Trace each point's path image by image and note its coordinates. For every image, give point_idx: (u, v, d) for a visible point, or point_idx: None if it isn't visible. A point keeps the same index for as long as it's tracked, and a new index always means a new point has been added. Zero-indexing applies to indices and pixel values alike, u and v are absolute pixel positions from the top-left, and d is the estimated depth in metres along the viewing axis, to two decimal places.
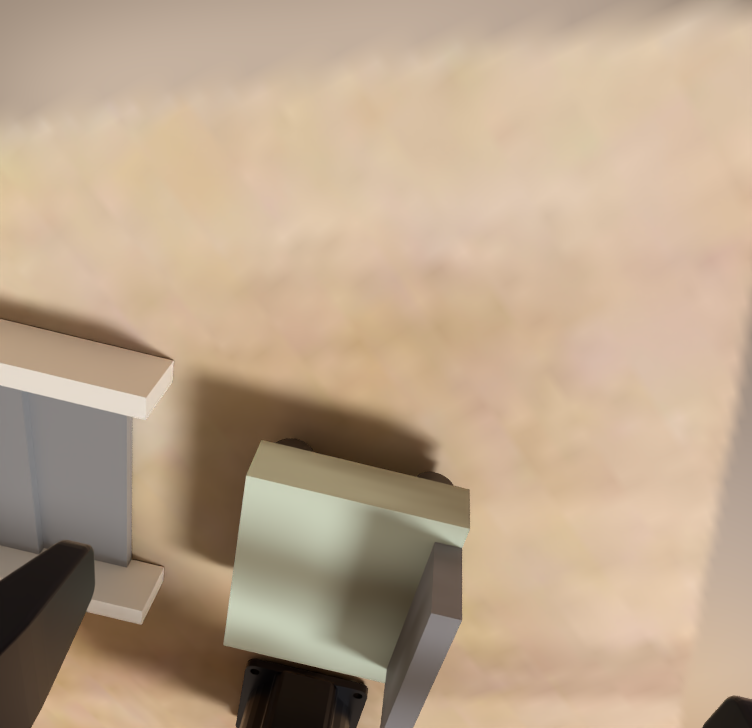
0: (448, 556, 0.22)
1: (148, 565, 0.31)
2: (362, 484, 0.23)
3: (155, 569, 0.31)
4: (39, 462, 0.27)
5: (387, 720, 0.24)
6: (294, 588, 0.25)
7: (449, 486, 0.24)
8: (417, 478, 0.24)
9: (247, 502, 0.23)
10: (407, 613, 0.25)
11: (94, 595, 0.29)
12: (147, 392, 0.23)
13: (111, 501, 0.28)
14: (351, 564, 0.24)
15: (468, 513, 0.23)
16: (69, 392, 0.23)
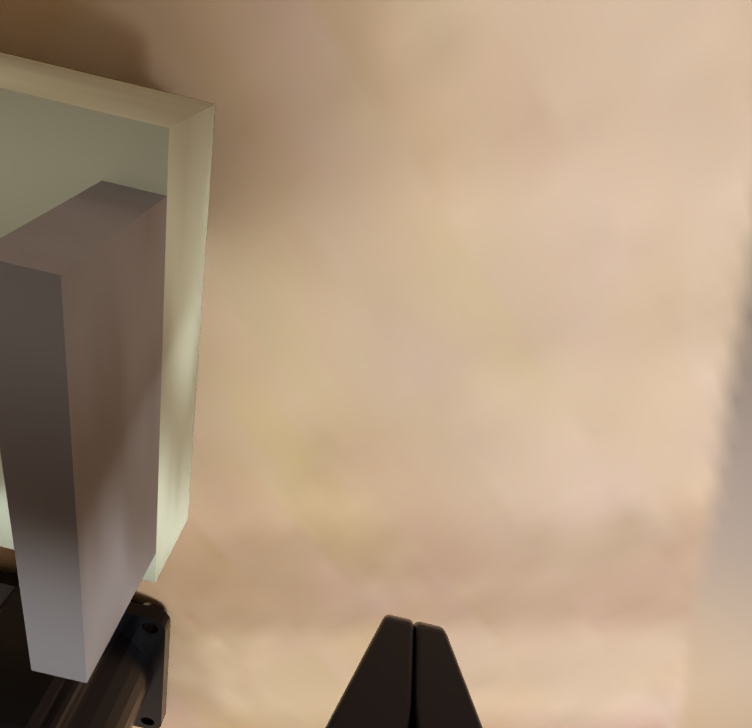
0: (119, 198, 0.09)
1: None
2: None
3: None
4: None
5: (26, 617, 0.11)
6: None
7: (168, 94, 0.11)
8: (97, 76, 0.11)
9: None
10: None
11: None
12: None
13: None
14: None
15: (184, 117, 0.10)
16: None
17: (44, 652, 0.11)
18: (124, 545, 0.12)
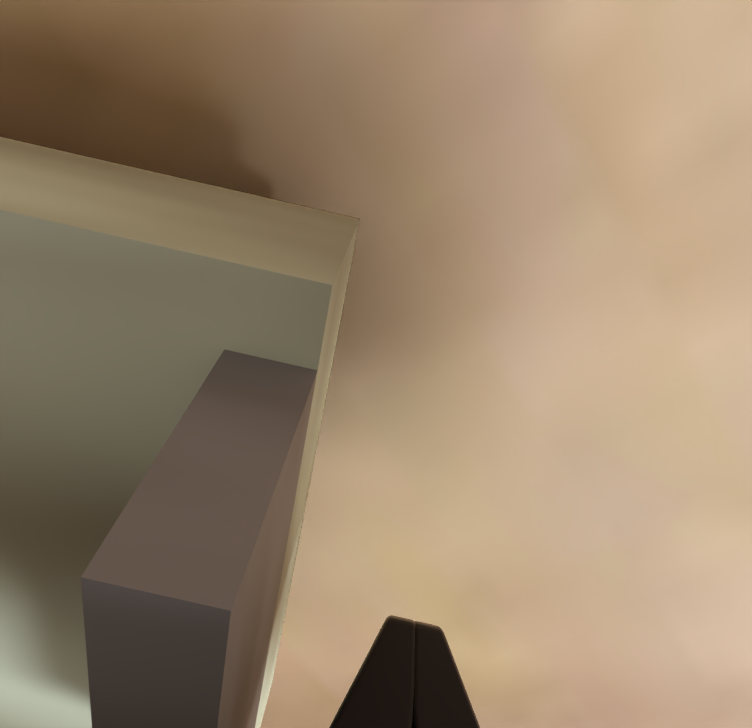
0: (258, 387, 0.06)
1: None
2: None
3: None
4: None
5: None
6: None
7: (296, 207, 0.08)
8: (198, 184, 0.08)
9: None
10: None
11: None
12: None
13: None
14: None
15: (339, 255, 0.07)
16: None
17: None
18: None
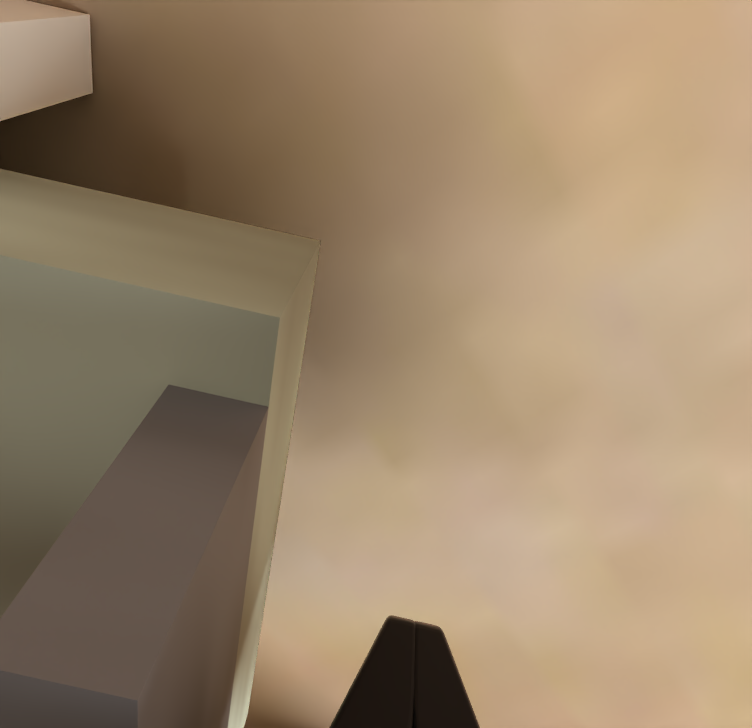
0: (201, 427, 0.06)
1: None
2: None
3: None
4: None
5: None
6: None
7: (253, 228, 0.07)
8: (149, 204, 0.07)
9: None
10: None
11: None
12: None
13: None
14: None
15: (292, 282, 0.06)
16: None
17: None
18: None
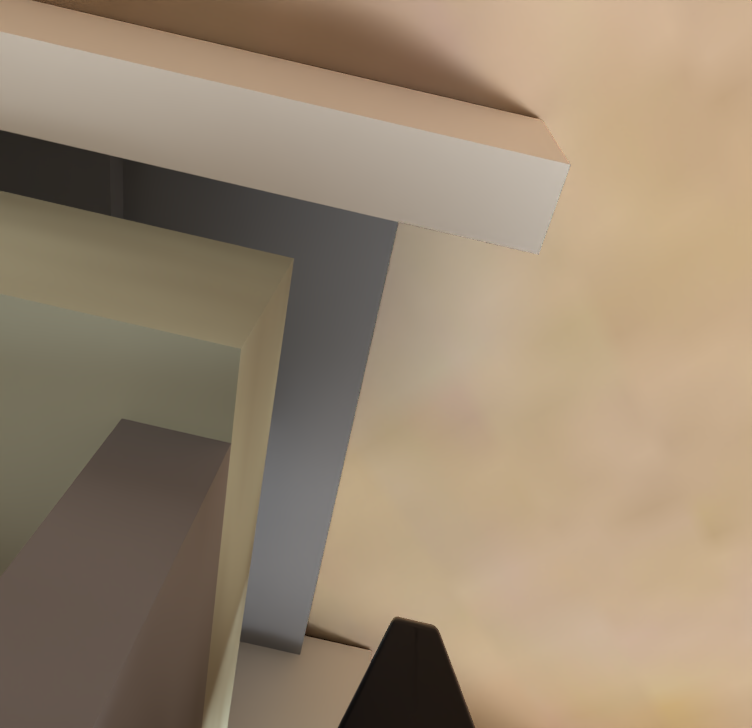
0: (153, 469, 0.05)
1: (340, 648, 0.15)
2: None
3: (356, 656, 0.15)
4: None
5: None
6: None
7: (221, 244, 0.07)
8: (108, 218, 0.07)
9: None
10: None
11: (249, 726, 0.13)
12: (558, 156, 0.07)
13: (294, 516, 0.12)
14: None
15: (258, 307, 0.06)
16: (301, 159, 0.07)
17: None
18: None
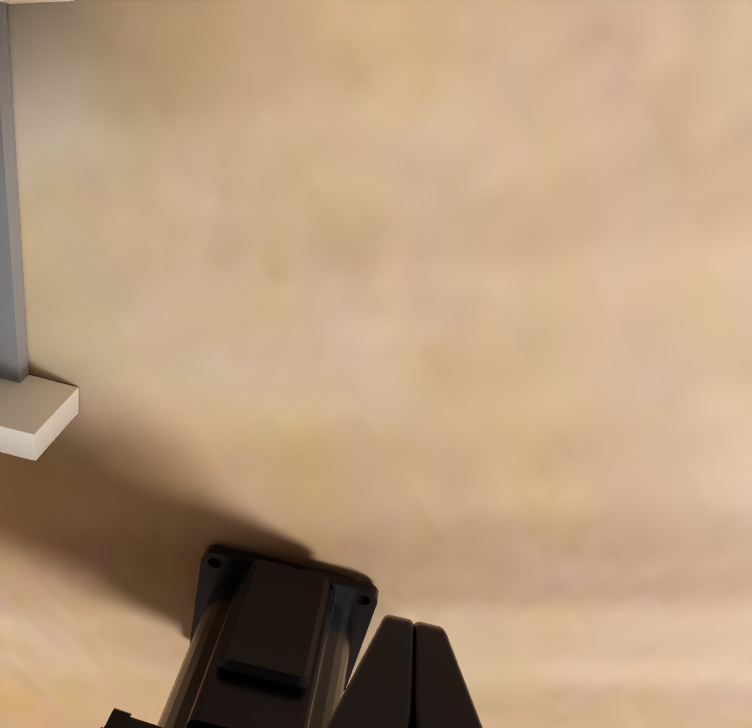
0: None
1: (54, 383, 0.20)
2: None
3: (64, 389, 0.20)
4: None
5: None
6: None
7: None
8: None
9: None
10: None
11: None
12: None
13: None
14: None
15: None
16: None
17: None
18: None
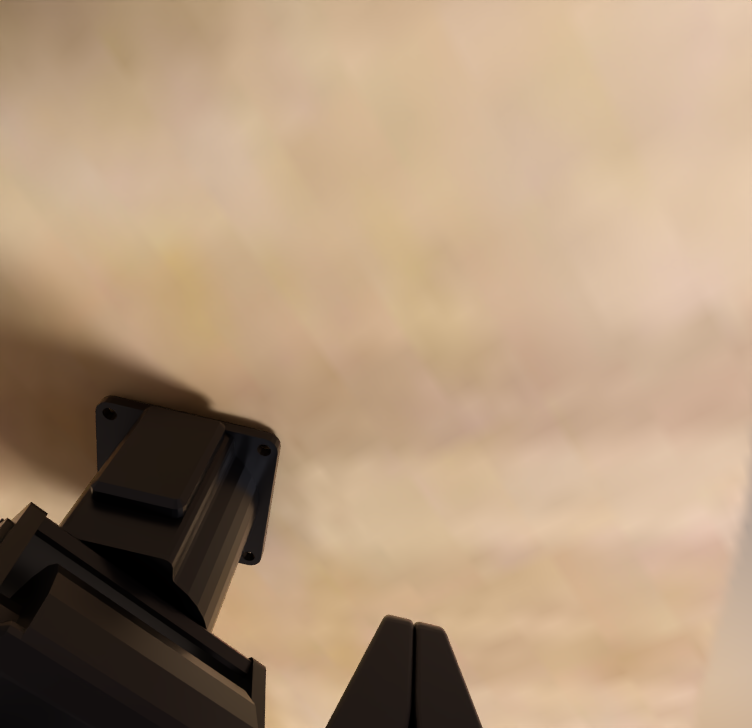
0: None
1: None
2: None
3: None
4: None
5: None
6: None
7: None
8: None
9: None
10: None
11: None
12: None
13: None
14: None
15: None
16: None
17: None
18: None
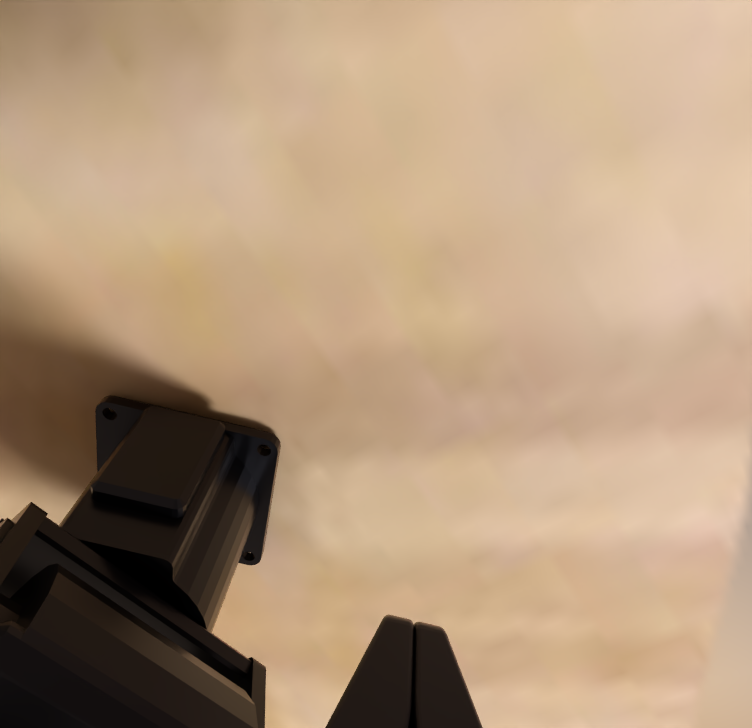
0: None
1: None
2: None
3: None
4: None
5: None
6: None
7: None
8: None
9: None
10: None
11: None
12: None
13: None
14: None
15: None
16: None
17: None
18: None
